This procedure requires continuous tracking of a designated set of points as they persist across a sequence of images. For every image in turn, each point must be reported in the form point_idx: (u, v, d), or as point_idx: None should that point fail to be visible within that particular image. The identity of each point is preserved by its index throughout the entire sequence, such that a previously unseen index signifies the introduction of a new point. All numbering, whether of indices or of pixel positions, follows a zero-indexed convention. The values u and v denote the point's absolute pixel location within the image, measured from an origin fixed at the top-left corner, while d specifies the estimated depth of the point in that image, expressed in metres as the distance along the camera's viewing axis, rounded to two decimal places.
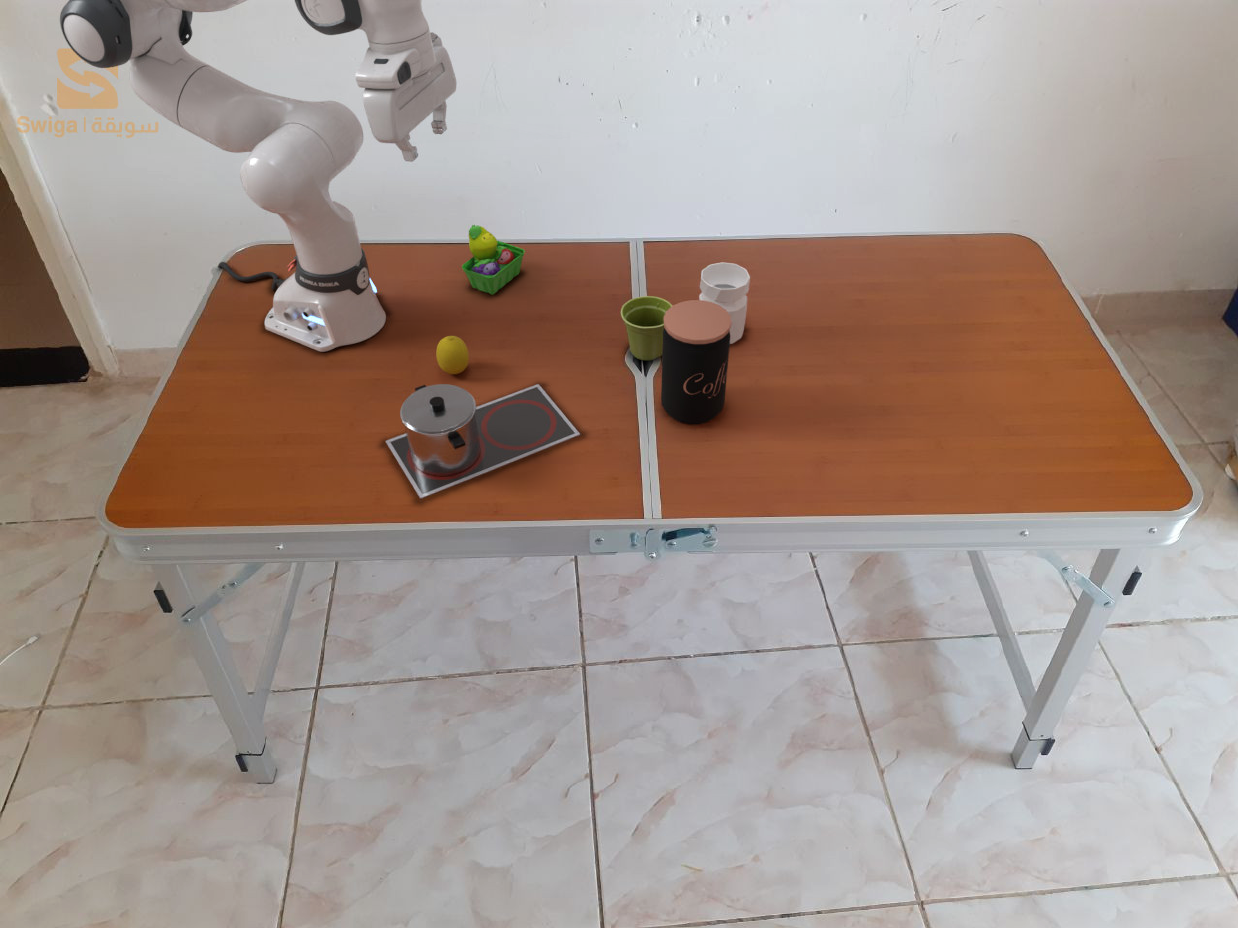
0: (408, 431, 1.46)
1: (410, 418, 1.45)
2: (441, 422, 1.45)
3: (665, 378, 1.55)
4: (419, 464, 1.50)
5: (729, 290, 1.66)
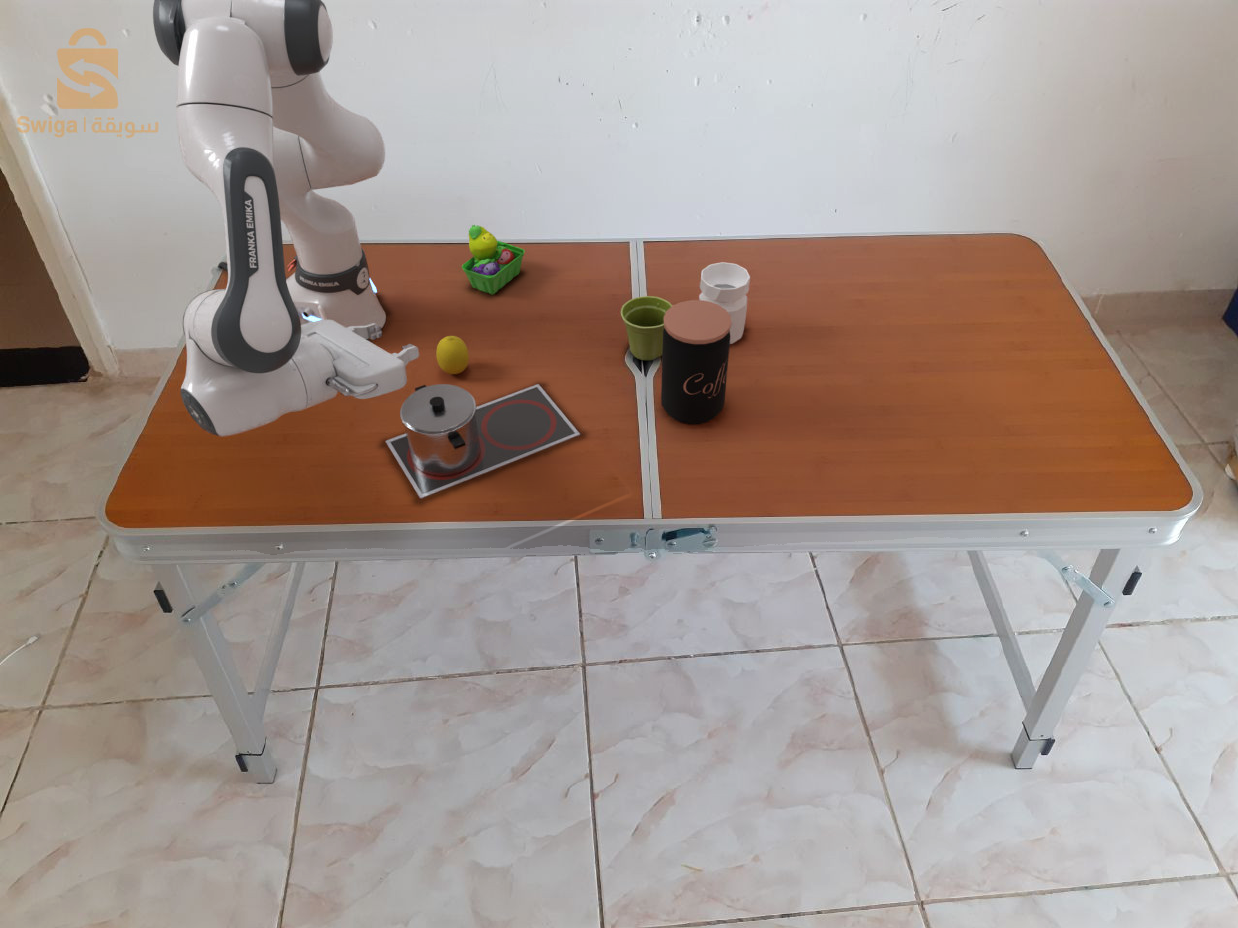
0: (408, 431, 1.46)
1: (410, 418, 1.45)
2: (441, 422, 1.45)
3: (665, 378, 1.55)
4: (419, 464, 1.50)
5: (729, 290, 1.66)
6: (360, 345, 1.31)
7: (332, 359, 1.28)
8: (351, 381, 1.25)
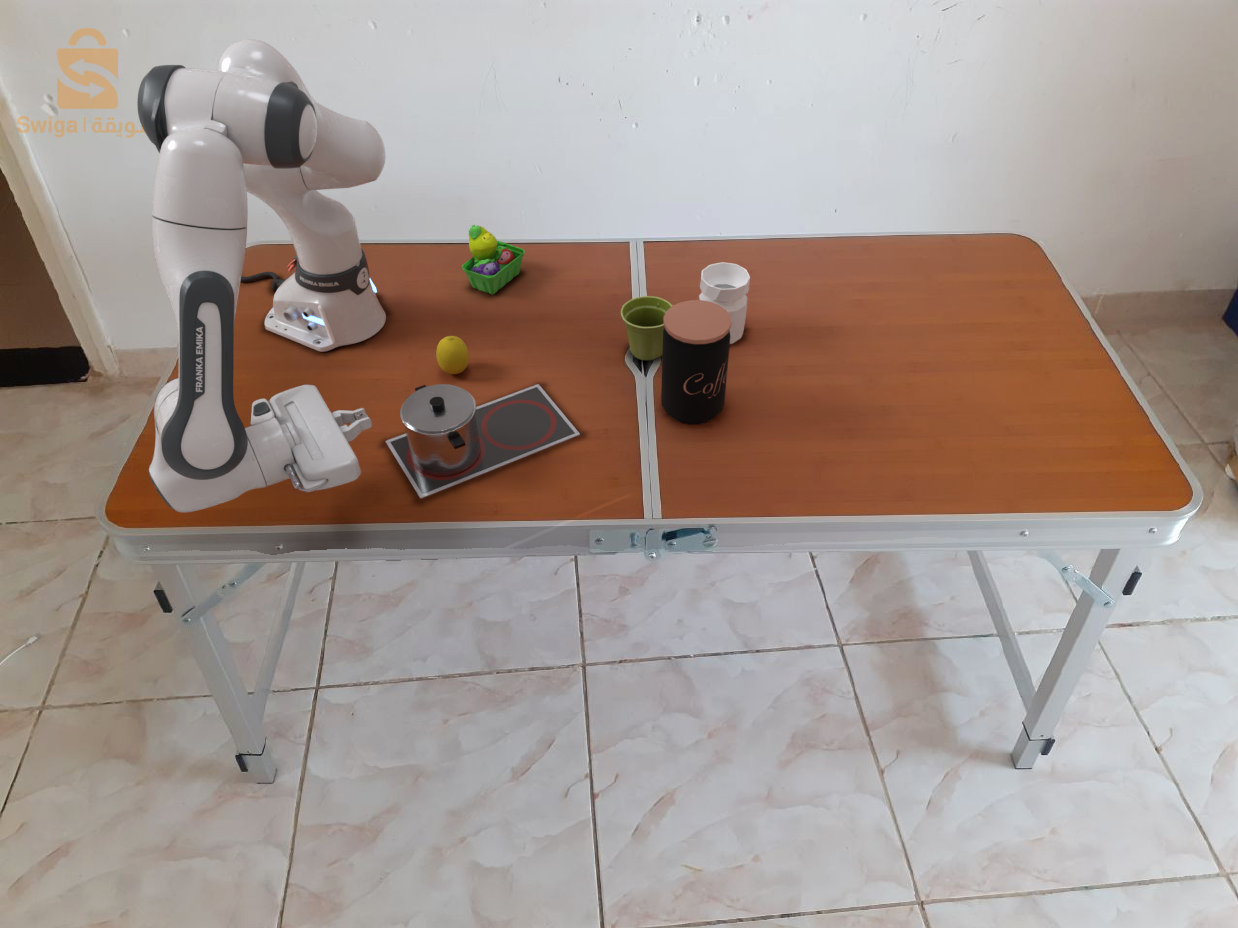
0: (408, 431, 1.46)
1: (410, 418, 1.45)
2: (441, 422, 1.45)
3: (665, 378, 1.55)
4: (419, 464, 1.50)
5: (729, 290, 1.66)
6: (326, 428, 1.37)
7: (293, 444, 1.34)
8: (303, 474, 1.31)
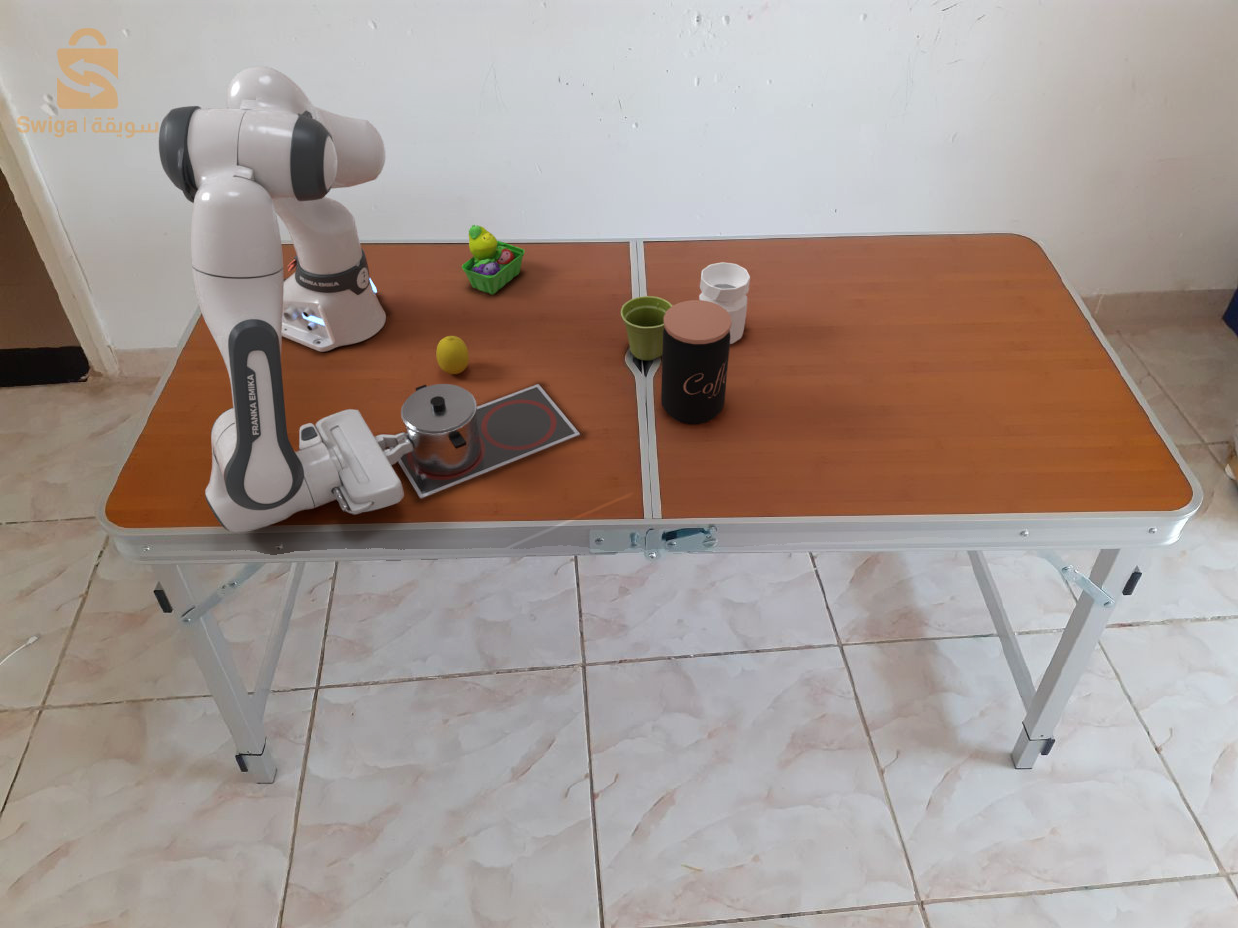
0: (409, 431, 1.46)
1: (411, 418, 1.45)
2: (442, 422, 1.45)
3: (665, 378, 1.55)
4: (420, 463, 1.50)
5: (729, 290, 1.66)
6: (370, 452, 1.44)
7: (340, 468, 1.41)
8: (350, 497, 1.39)
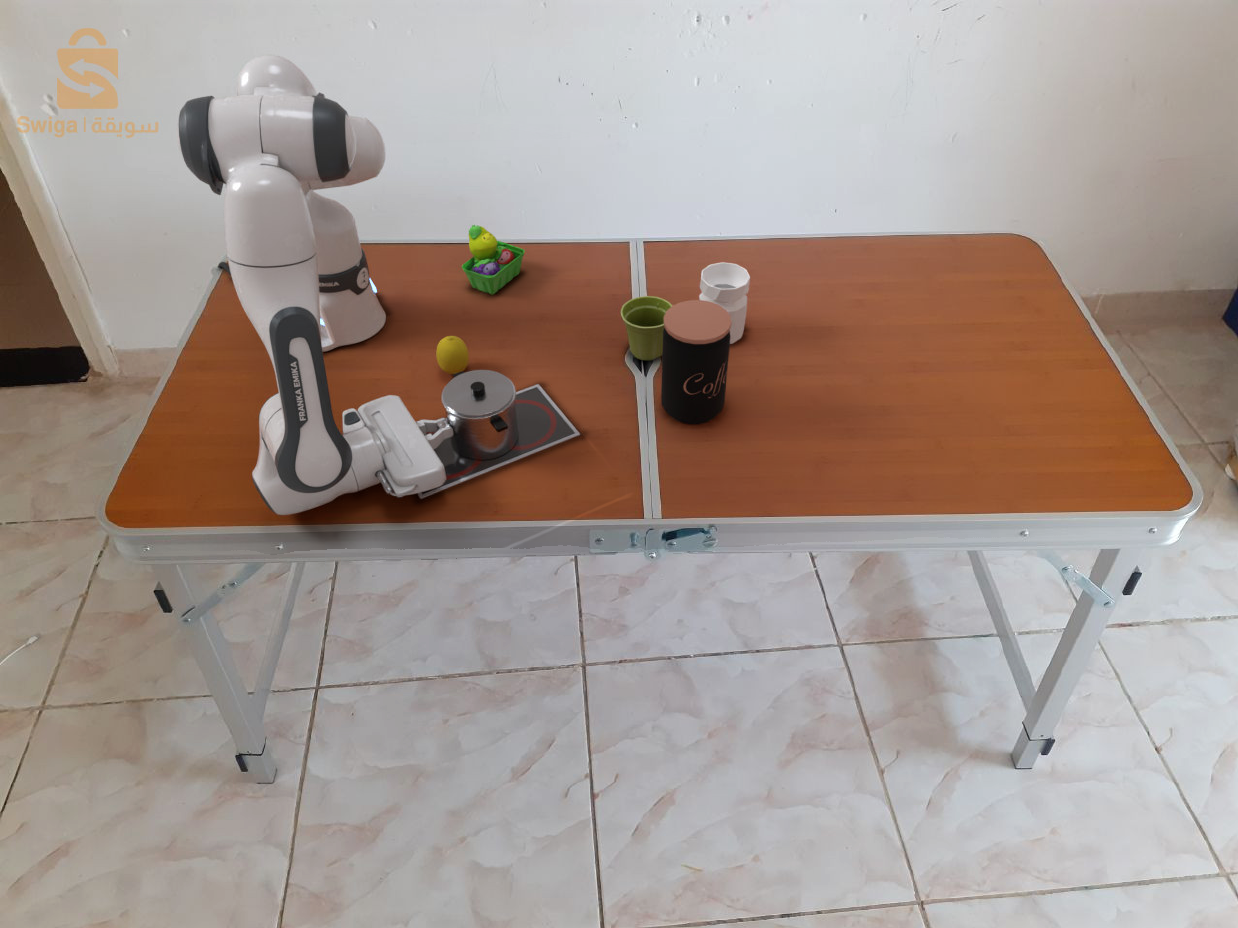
0: (450, 416, 1.48)
1: (452, 403, 1.48)
2: (483, 406, 1.47)
3: (665, 378, 1.55)
4: (460, 448, 1.52)
5: (729, 290, 1.66)
6: (412, 437, 1.46)
7: (384, 452, 1.44)
8: (394, 480, 1.41)
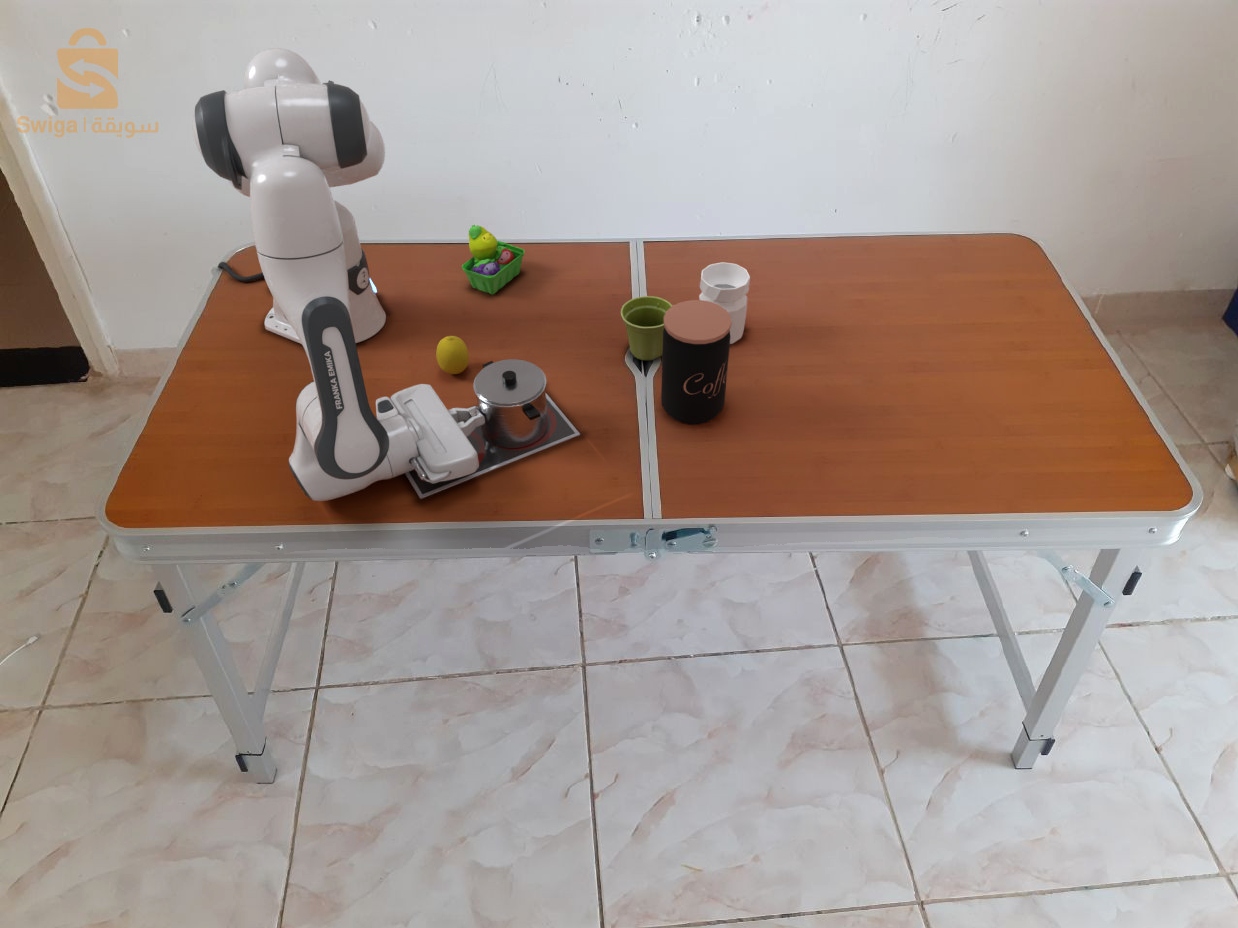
0: (482, 405, 1.50)
1: (484, 392, 1.49)
2: (515, 395, 1.49)
3: (665, 378, 1.55)
4: (492, 437, 1.54)
5: (729, 290, 1.66)
6: (445, 425, 1.48)
7: (417, 439, 1.46)
8: (428, 467, 1.43)
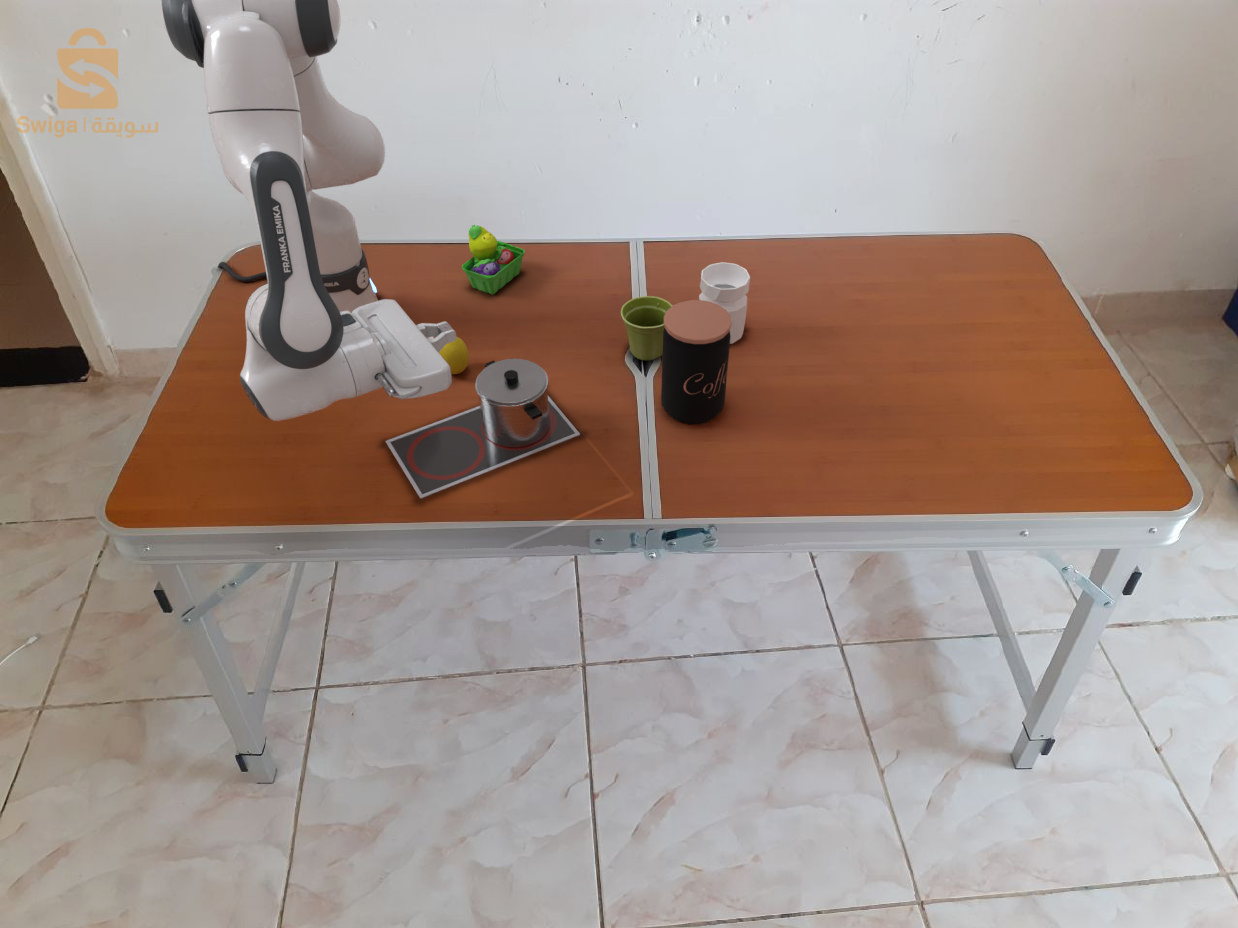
0: (484, 404, 1.50)
1: (486, 391, 1.50)
2: (517, 394, 1.49)
3: (665, 378, 1.55)
4: (493, 436, 1.54)
5: (729, 290, 1.66)
6: (413, 339, 1.36)
7: (383, 354, 1.33)
8: (396, 382, 1.30)
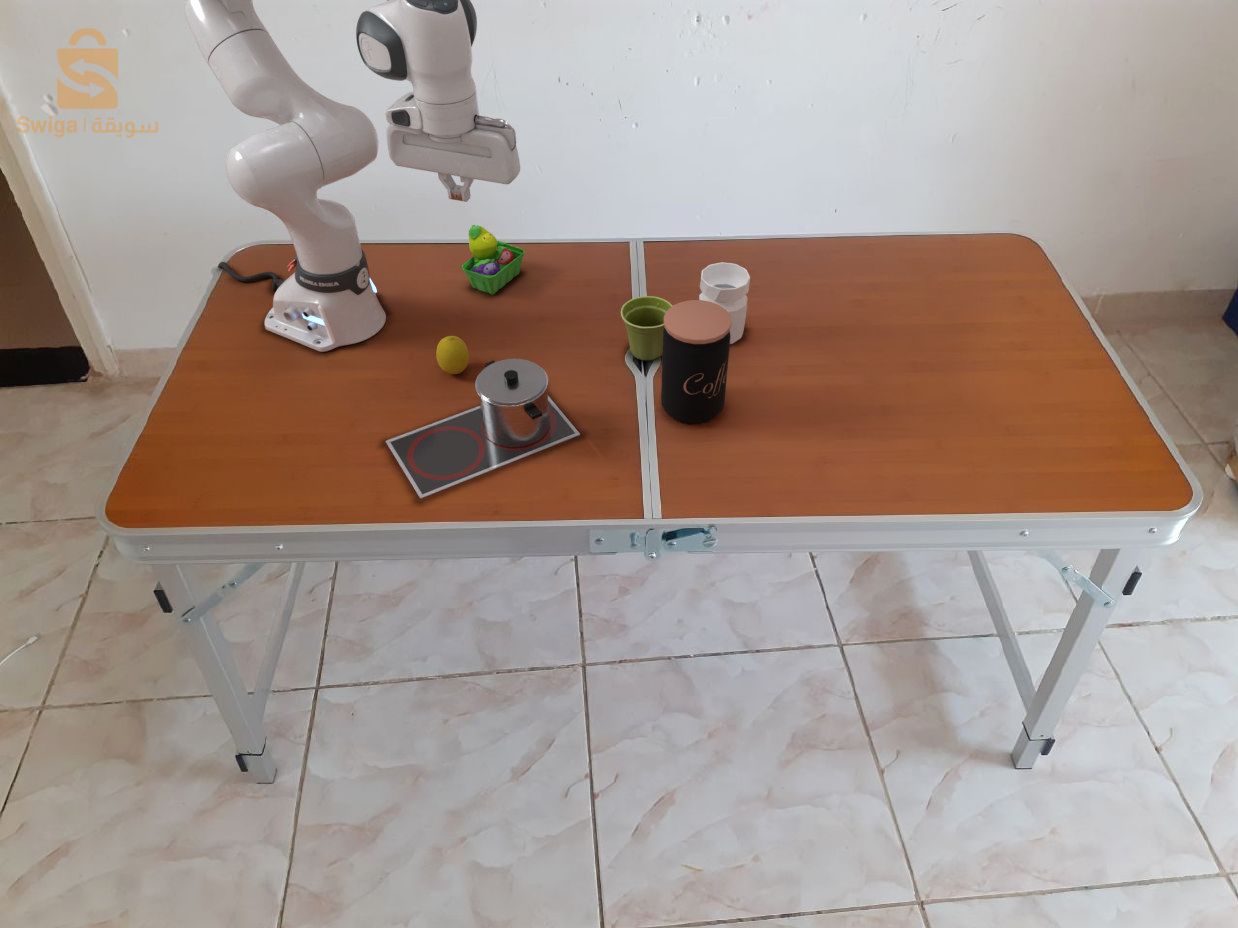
0: (484, 404, 1.50)
1: (486, 391, 1.50)
2: (517, 394, 1.49)
3: (665, 378, 1.55)
4: (493, 436, 1.54)
5: (729, 290, 1.66)
6: None
7: None
8: None
